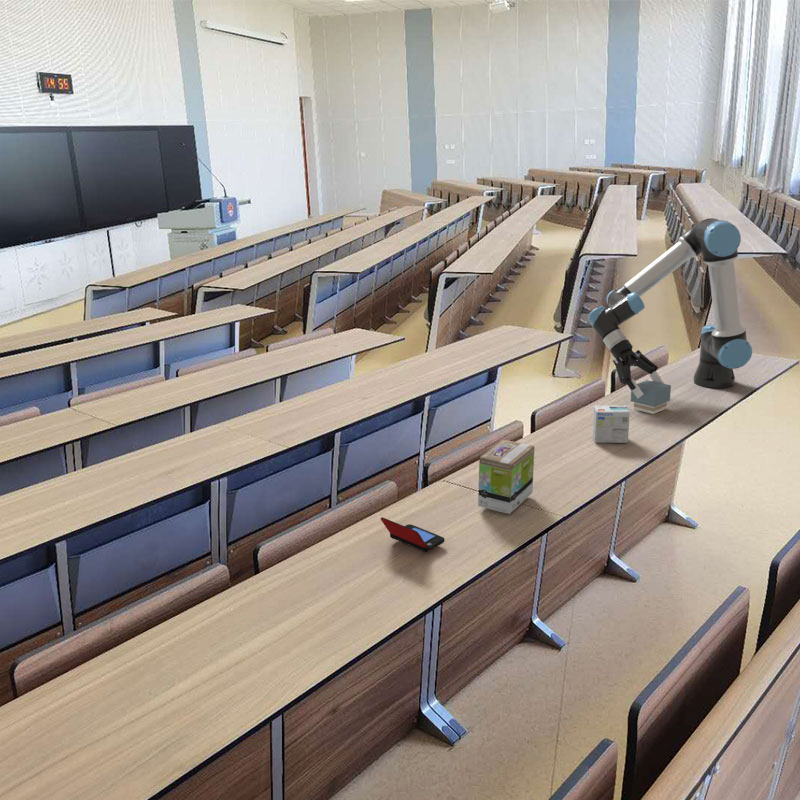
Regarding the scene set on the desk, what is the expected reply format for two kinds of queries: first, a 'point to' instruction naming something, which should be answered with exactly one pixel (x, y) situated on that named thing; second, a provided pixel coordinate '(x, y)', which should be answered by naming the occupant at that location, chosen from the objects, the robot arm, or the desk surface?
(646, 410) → the carton
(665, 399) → the grey-blue square block
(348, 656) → the desk surface
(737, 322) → the robot arm
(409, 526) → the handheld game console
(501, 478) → the tea box
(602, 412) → the light bulb box
